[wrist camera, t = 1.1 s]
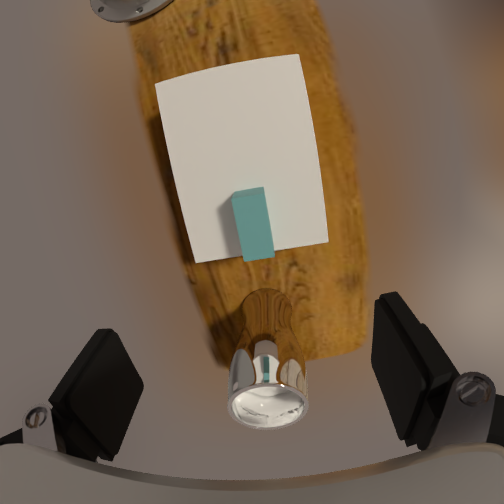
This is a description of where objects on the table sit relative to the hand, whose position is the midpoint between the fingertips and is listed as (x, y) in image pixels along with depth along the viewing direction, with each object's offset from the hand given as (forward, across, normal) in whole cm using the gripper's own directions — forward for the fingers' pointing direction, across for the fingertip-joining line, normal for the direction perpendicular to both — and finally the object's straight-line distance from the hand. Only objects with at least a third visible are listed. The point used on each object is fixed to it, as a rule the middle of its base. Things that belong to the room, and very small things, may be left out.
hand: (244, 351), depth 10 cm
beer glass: (+22, +1, +13) cm, 26 cm away
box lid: (+17, 0, -5) cm, 17 cm away
